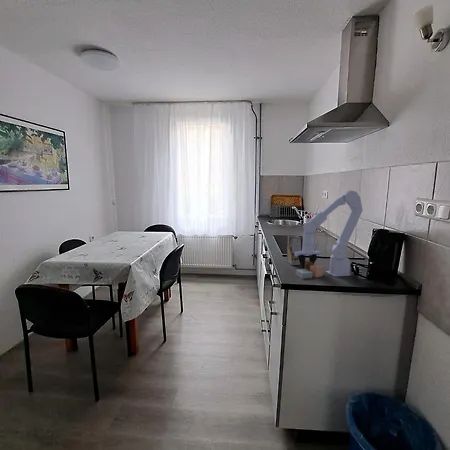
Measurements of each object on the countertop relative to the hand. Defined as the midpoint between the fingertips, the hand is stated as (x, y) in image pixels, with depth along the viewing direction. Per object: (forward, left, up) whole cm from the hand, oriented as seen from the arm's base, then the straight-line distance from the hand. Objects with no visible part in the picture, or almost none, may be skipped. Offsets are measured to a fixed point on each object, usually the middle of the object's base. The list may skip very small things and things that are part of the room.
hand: (306, 268), depth 146 cm
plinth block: (+6, +8, -2) cm, 10 cm away
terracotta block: (-1, +8, -2) cm, 8 cm away
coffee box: (0, -15, -2) cm, 15 cm away
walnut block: (0, 0, -1) cm, 1 cm away
